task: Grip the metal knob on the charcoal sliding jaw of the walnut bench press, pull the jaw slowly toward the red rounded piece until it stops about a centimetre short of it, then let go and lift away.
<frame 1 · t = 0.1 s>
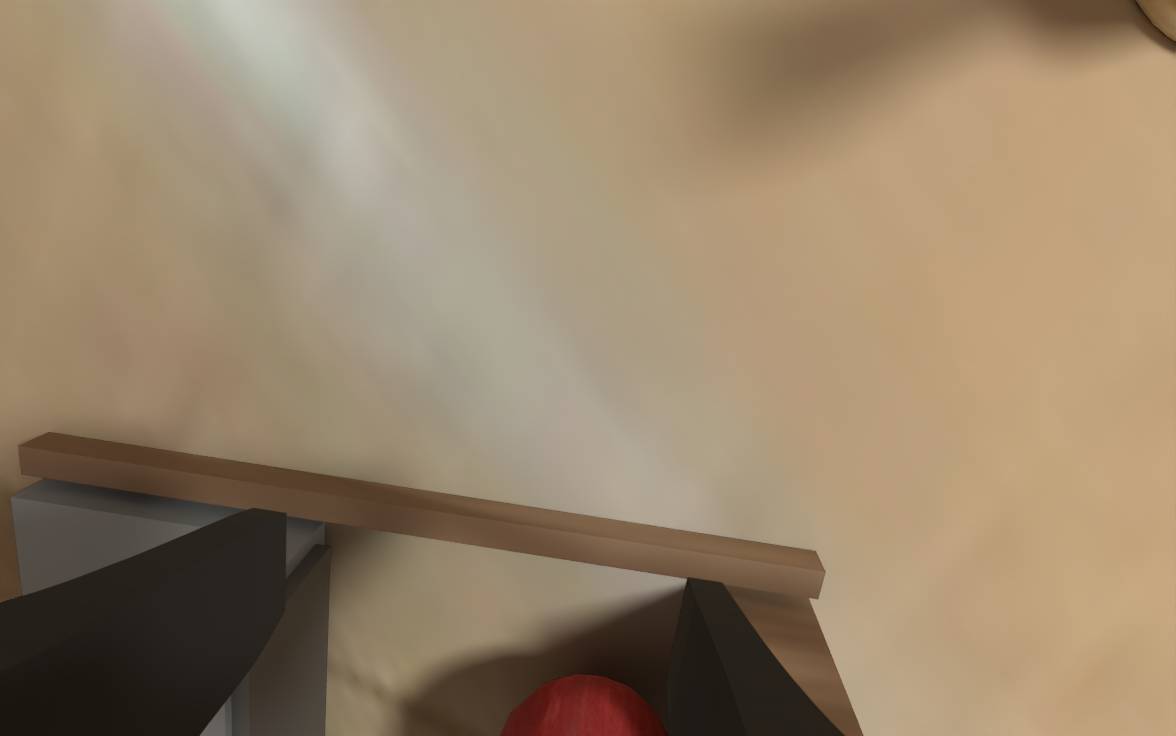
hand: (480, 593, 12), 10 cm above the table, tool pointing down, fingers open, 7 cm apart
red rounded piece: (591, 687, 25), resting in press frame
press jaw: (124, 714, 21), point 4 cm above the table, slide at 0.0 cm
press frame: (414, 663, 25), on the table
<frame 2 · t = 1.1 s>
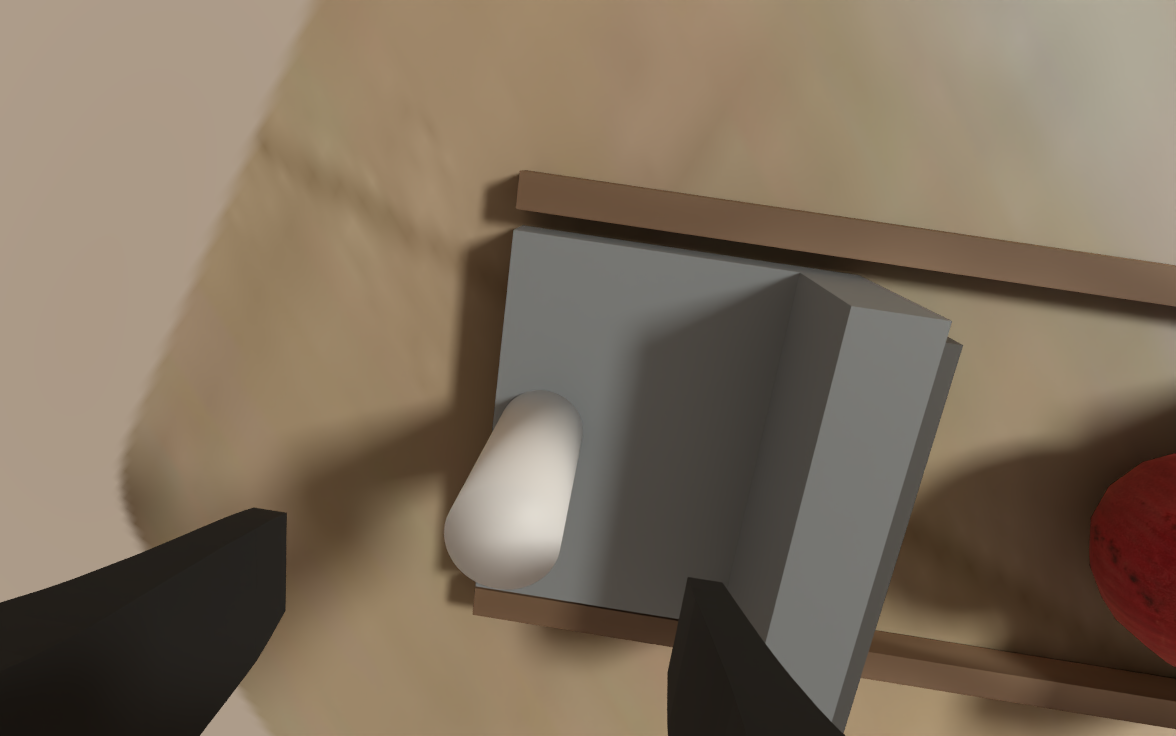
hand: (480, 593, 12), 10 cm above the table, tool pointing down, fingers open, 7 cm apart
red rounded piece: (1125, 495, 21), resting in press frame
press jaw: (671, 484, 18), point 4 cm above the table, slide at 0.0 cm
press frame: (917, 465, 21), on the table
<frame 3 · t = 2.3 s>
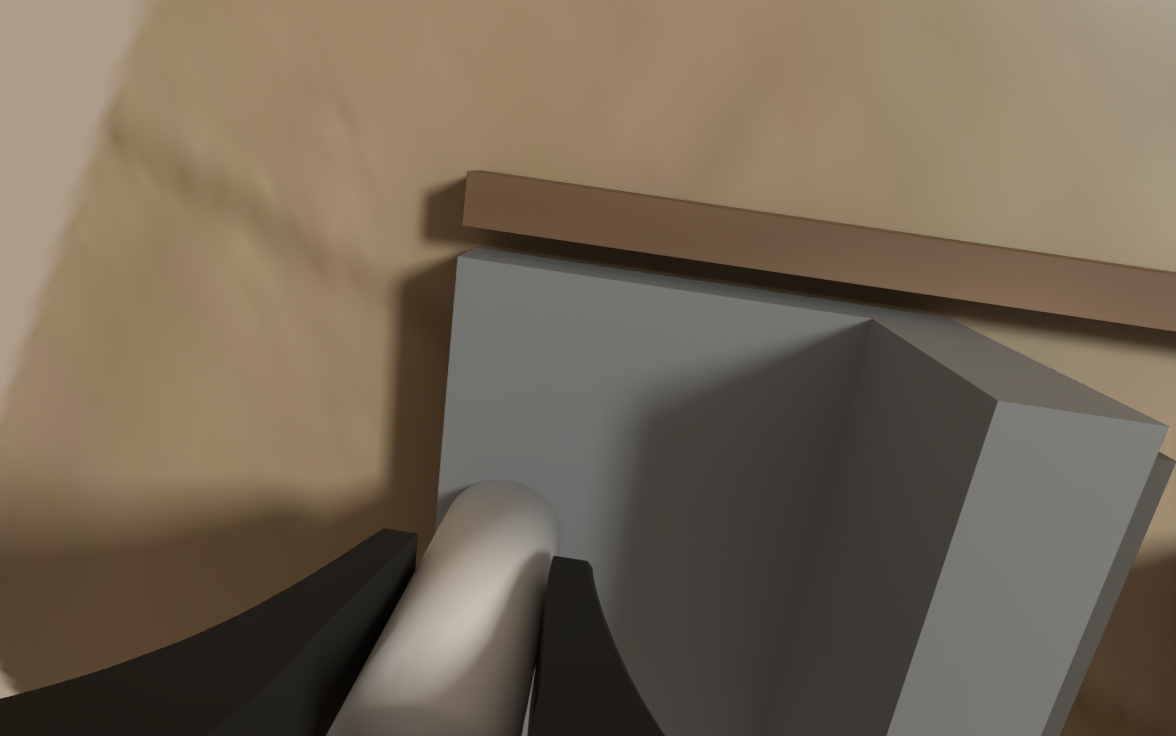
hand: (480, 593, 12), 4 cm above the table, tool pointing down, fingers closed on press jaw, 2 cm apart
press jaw: (686, 632, 12), point 4 cm above the table, slide at 0.0 cm, touching gripper
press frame: (1016, 571, 16), on the table
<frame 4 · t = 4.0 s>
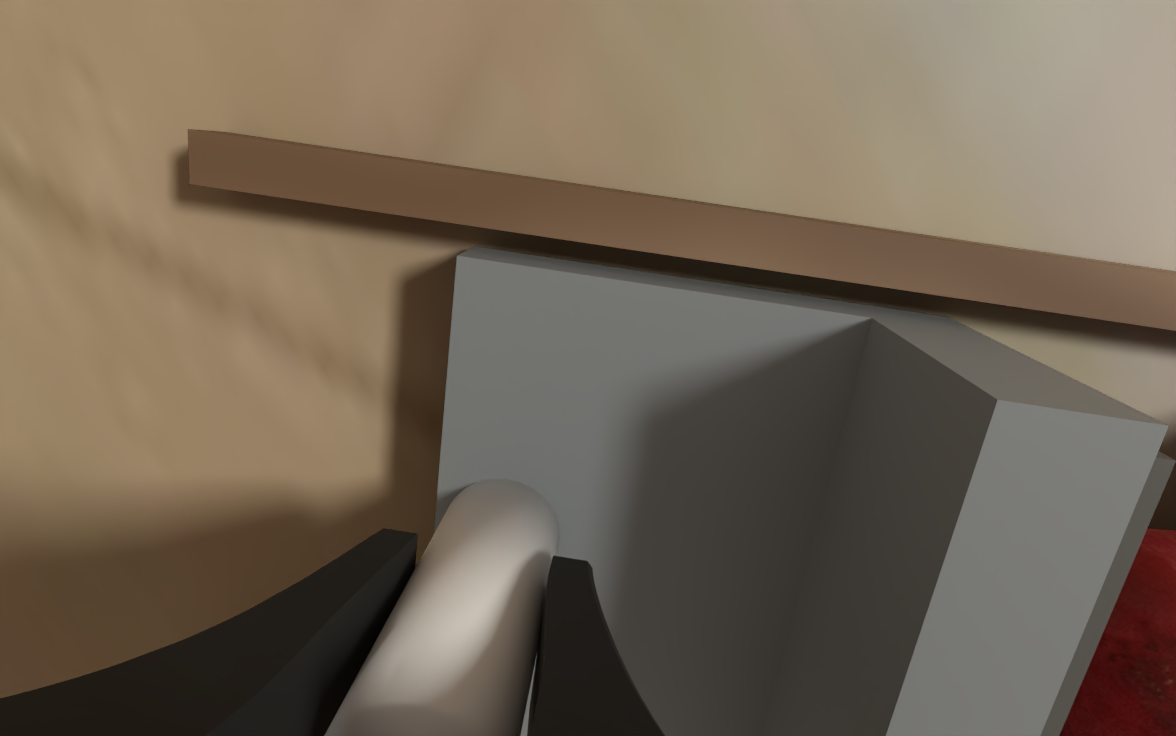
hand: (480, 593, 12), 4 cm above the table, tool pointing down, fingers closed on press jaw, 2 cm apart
red rounded piece: (1065, 573, 16), resting in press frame
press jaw: (685, 631, 12), point 4 cm above the table, slide at 5.3 cm, touching gripper
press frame: (784, 534, 16), on the table
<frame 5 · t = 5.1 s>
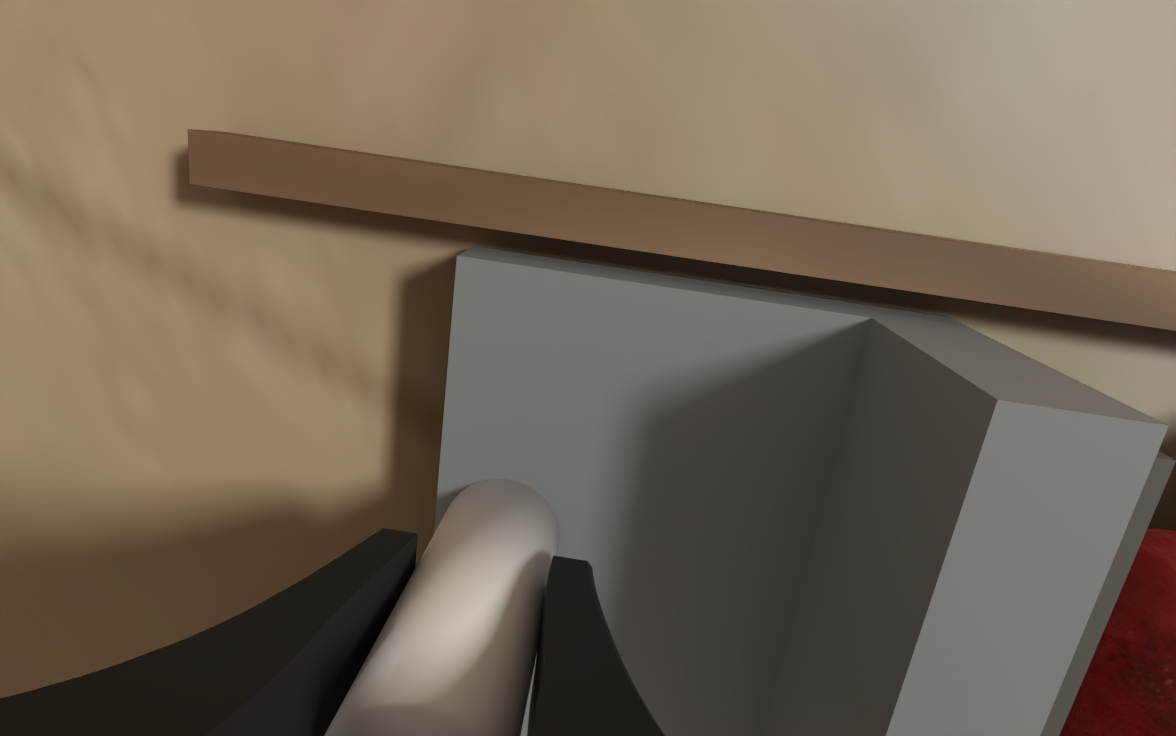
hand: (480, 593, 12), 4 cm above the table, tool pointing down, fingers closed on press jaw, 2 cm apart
red rounded piece: (1065, 573, 16), resting in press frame
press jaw: (685, 631, 12), point 4 cm above the table, slide at 5.3 cm, touching gripper
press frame: (784, 534, 16), on the table
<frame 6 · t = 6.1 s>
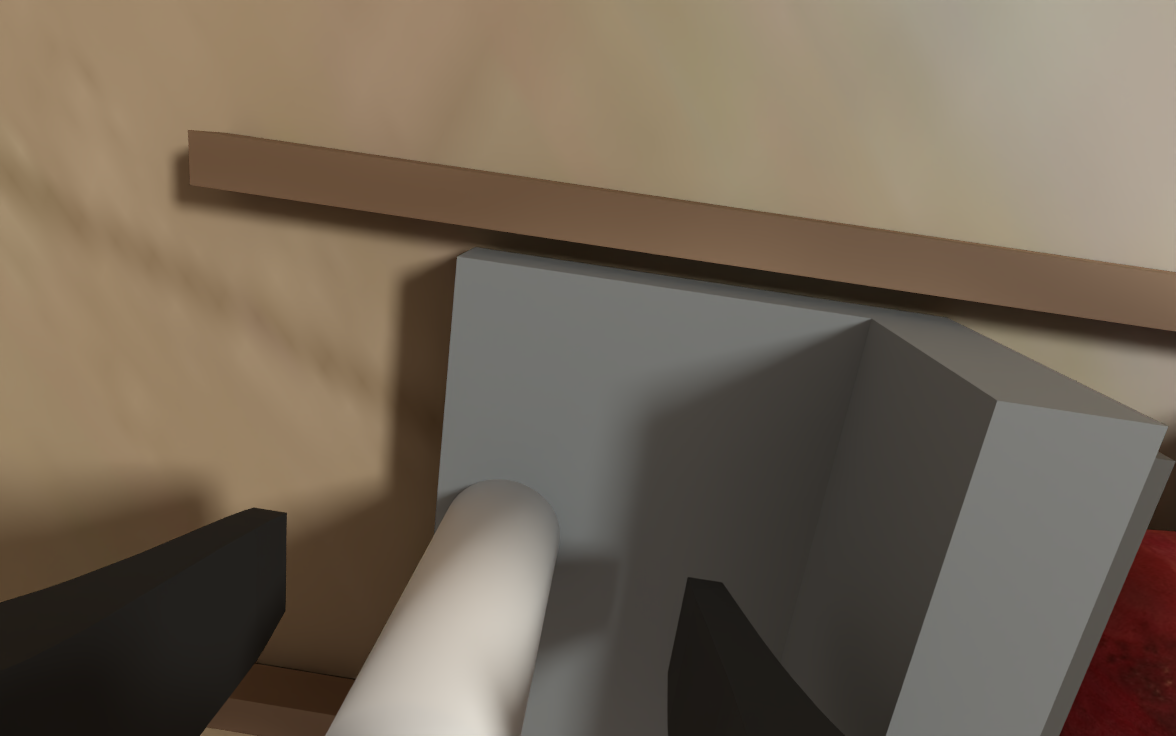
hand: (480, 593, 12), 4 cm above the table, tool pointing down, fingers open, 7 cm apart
red rounded piece: (1064, 574, 16), resting in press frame
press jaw: (685, 632, 12), point 4 cm above the table, slide at 5.3 cm
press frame: (784, 534, 16), on the table
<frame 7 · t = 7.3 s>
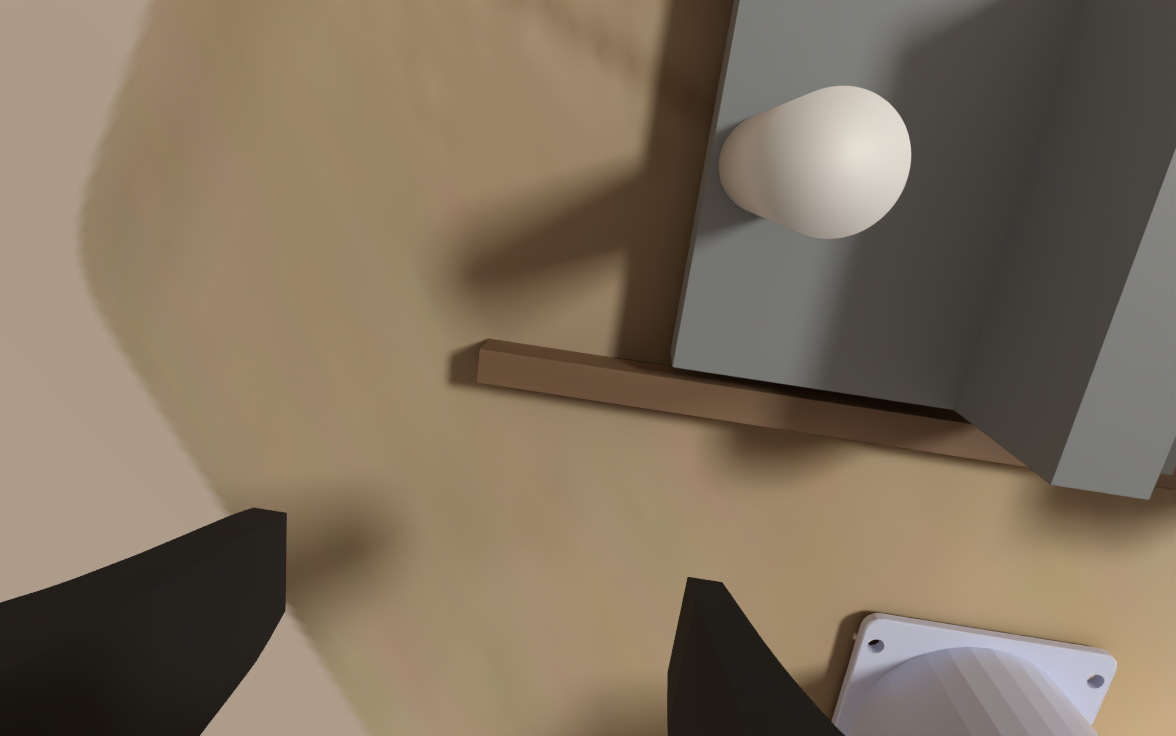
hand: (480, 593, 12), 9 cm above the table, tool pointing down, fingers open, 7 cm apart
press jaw: (956, 189, 15), point 4 cm above the table, slide at 5.3 cm
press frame: (984, 197, 19), on the table
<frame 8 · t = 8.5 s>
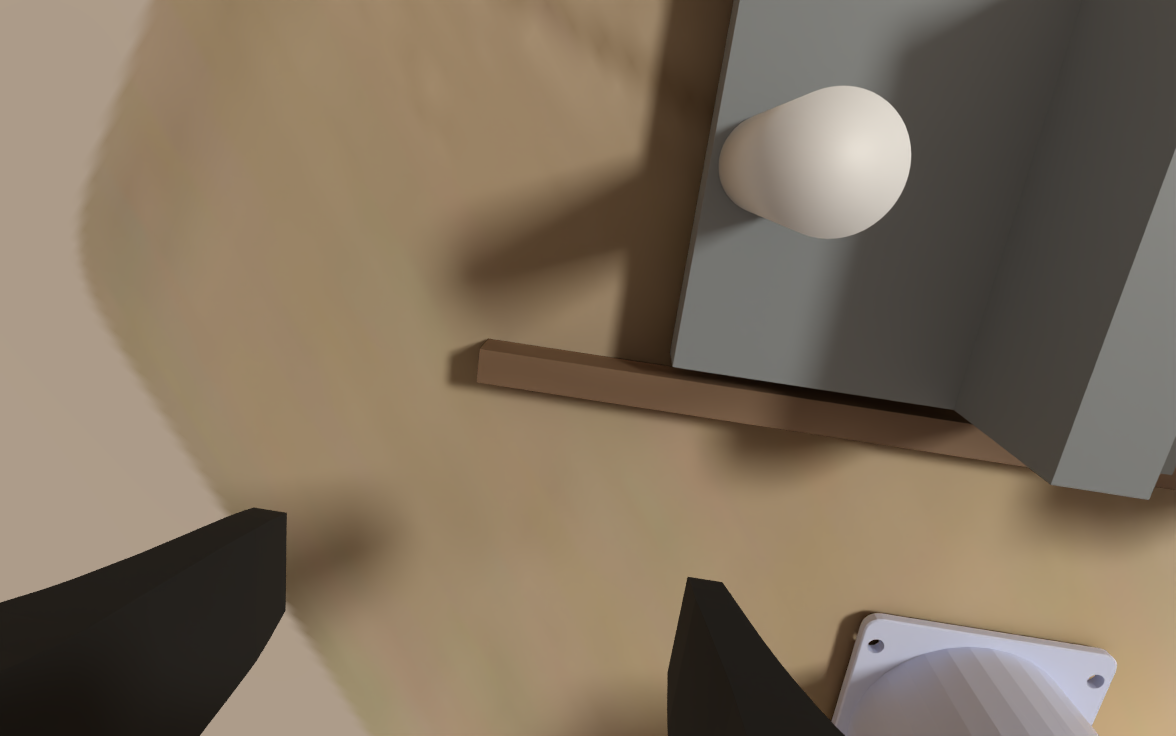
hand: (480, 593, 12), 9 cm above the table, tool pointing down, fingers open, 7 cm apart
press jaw: (956, 189, 15), point 4 cm above the table, slide at 5.3 cm
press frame: (984, 197, 19), on the table
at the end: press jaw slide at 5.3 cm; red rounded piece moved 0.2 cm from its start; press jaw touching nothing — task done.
